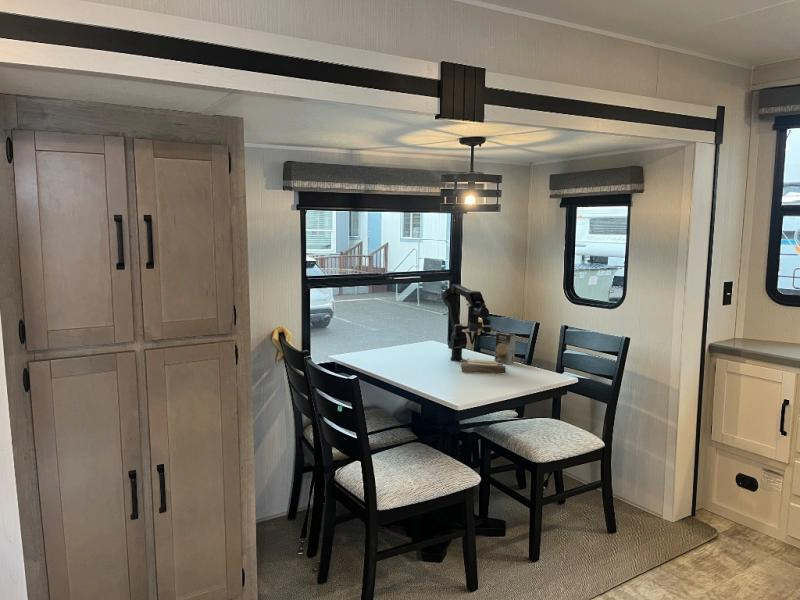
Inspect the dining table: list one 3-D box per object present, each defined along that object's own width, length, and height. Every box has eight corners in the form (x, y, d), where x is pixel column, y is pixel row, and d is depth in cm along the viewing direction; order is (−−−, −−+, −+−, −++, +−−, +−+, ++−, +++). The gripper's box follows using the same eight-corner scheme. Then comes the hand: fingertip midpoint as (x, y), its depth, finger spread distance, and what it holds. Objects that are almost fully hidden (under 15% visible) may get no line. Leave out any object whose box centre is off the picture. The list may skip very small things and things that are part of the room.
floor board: (460, 364, 318) (461, 358, 317) (502, 366, 316) (502, 360, 316) (461, 371, 303) (461, 365, 302) (505, 373, 301) (505, 367, 301)
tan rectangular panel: (467, 362, 316) (467, 359, 316) (495, 363, 315) (496, 361, 315) (468, 367, 306) (468, 364, 306) (497, 368, 305) (497, 365, 305)
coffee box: (493, 361, 326) (495, 333, 324) (499, 359, 331) (501, 331, 329) (508, 364, 321) (510, 335, 318) (514, 362, 325) (516, 333, 323)
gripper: (456, 317, 305) (454, 346, 307) (492, 318, 304) (491, 348, 306) (455, 313, 316) (454, 342, 318) (490, 314, 315) (489, 343, 317)
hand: (472, 344), depth 315 cm, fingers closed
